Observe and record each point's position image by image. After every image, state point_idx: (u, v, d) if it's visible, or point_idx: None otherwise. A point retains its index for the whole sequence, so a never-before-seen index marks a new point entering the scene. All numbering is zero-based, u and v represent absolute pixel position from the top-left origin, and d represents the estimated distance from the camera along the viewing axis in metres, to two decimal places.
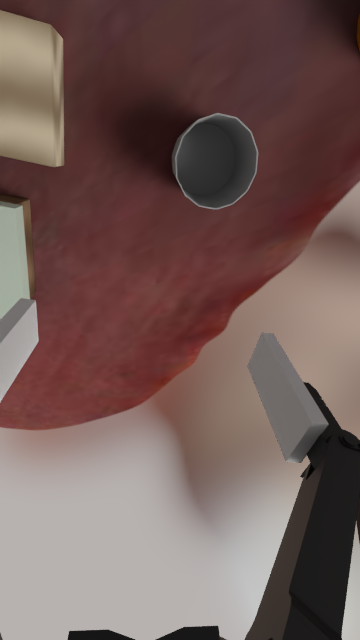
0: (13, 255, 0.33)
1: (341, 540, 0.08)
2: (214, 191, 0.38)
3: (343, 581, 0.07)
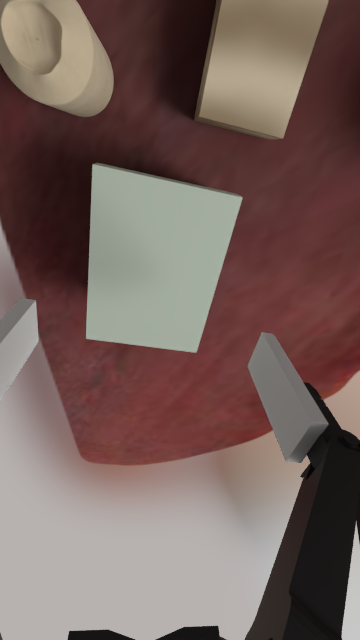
0: (214, 264, 0.24)
1: (341, 540, 0.08)
2: None
3: (343, 581, 0.07)
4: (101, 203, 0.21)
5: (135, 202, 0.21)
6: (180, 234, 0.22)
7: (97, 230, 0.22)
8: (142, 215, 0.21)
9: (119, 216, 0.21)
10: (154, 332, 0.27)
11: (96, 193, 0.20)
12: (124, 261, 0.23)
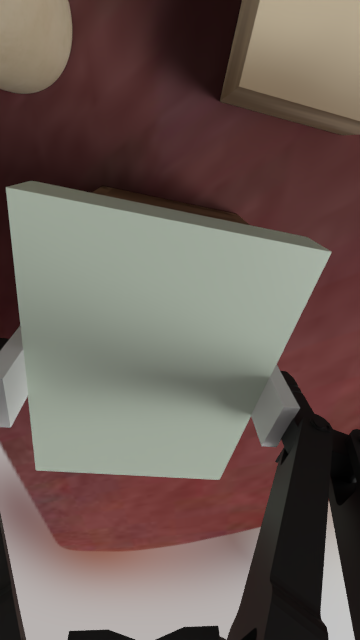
0: (261, 365, 0.13)
1: (315, 521, 0.08)
2: None
3: (319, 561, 0.07)
4: (36, 267, 0.10)
5: (108, 264, 0.10)
6: (200, 318, 0.11)
7: (34, 315, 0.11)
8: (124, 288, 0.10)
9: (78, 291, 0.10)
10: (152, 458, 0.16)
11: (22, 247, 0.09)
12: (93, 364, 0.12)
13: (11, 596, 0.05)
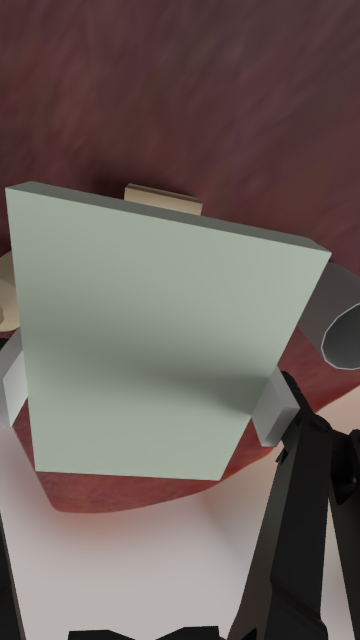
0: (262, 365, 0.13)
1: (315, 521, 0.08)
2: None
3: (319, 561, 0.07)
4: (36, 267, 0.10)
5: (108, 264, 0.10)
6: (200, 319, 0.11)
7: (34, 316, 0.11)
8: (124, 288, 0.10)
9: (78, 291, 0.10)
10: (151, 458, 0.16)
11: (22, 248, 0.09)
12: (92, 364, 0.12)
13: (11, 596, 0.05)
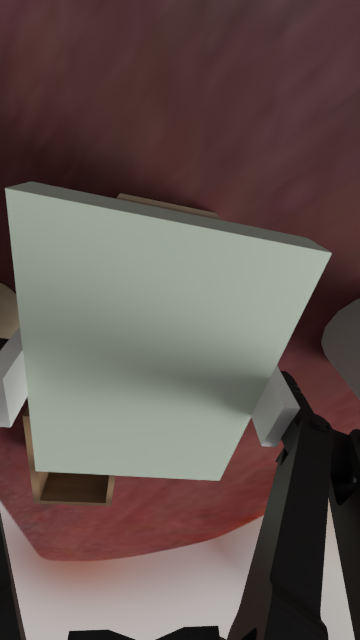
0: (262, 366, 0.13)
1: (315, 521, 0.08)
2: None
3: (319, 561, 0.07)
4: (36, 268, 0.10)
5: (108, 265, 0.10)
6: (200, 320, 0.11)
7: (34, 316, 0.11)
8: (124, 289, 0.10)
9: (78, 291, 0.10)
10: (151, 459, 0.16)
11: (21, 248, 0.09)
12: (92, 364, 0.12)
13: (11, 596, 0.05)
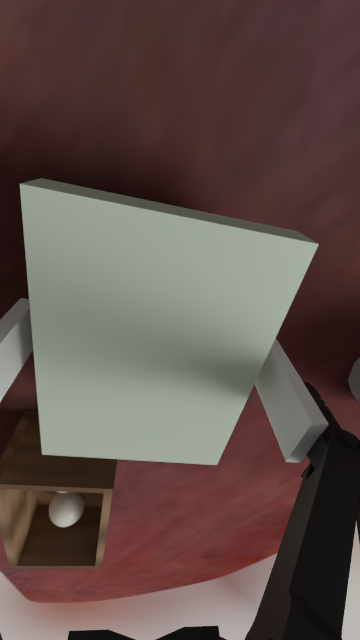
0: (255, 352, 0.14)
1: (340, 540, 0.08)
2: None
3: (343, 581, 0.07)
4: (46, 257, 0.11)
5: (112, 255, 0.11)
6: (197, 307, 0.12)
7: (43, 303, 0.12)
8: (127, 277, 0.11)
9: (84, 280, 0.11)
10: (152, 443, 0.17)
11: (33, 239, 0.10)
12: (97, 350, 0.13)
13: None
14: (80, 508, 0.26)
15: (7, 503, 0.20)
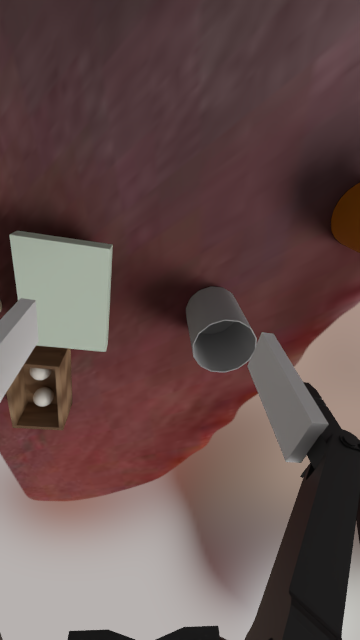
0: (103, 291, 0.35)
1: (340, 540, 0.08)
2: (221, 330, 0.46)
3: (343, 581, 0.07)
4: (19, 256, 0.32)
5: (40, 255, 0.32)
6: (74, 273, 0.34)
7: (19, 273, 0.33)
8: (47, 262, 0.33)
9: (32, 264, 0.33)
10: (72, 338, 0.38)
11: (14, 250, 0.32)
12: (40, 291, 0.35)
13: None
14: (50, 396, 0.47)
15: None
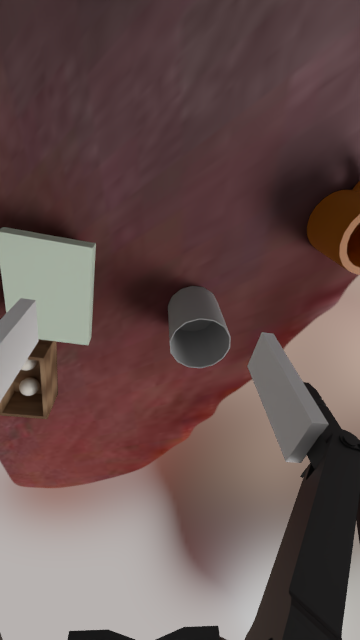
0: (85, 287, 0.37)
1: (340, 540, 0.08)
2: (201, 328, 0.48)
3: (343, 581, 0.07)
4: (4, 252, 0.34)
5: (25, 251, 0.34)
6: (58, 269, 0.35)
7: (5, 267, 0.35)
8: (31, 258, 0.34)
9: (17, 259, 0.34)
10: (55, 331, 0.40)
11: (0, 246, 0.33)
12: (25, 285, 0.36)
13: None
14: (35, 386, 0.49)
15: None
